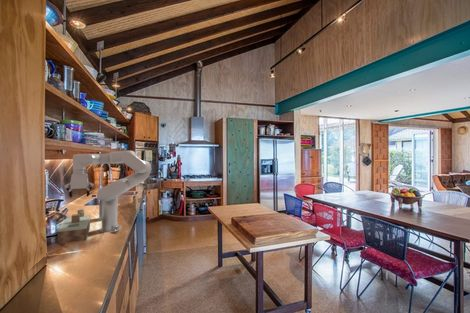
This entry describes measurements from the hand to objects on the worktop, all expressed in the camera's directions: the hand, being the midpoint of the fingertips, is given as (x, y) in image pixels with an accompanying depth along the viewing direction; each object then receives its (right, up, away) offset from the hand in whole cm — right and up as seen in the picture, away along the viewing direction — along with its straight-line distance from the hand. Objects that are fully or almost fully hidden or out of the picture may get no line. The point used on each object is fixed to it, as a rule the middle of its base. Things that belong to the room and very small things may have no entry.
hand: (79, 196), depth 160 cm
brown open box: (+4, -24, -10) cm, 26 cm away
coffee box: (-1, -24, +32) cm, 40 cm away
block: (-4, -24, +7) cm, 25 cm away
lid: (+4, -16, -10) cm, 20 cm away
